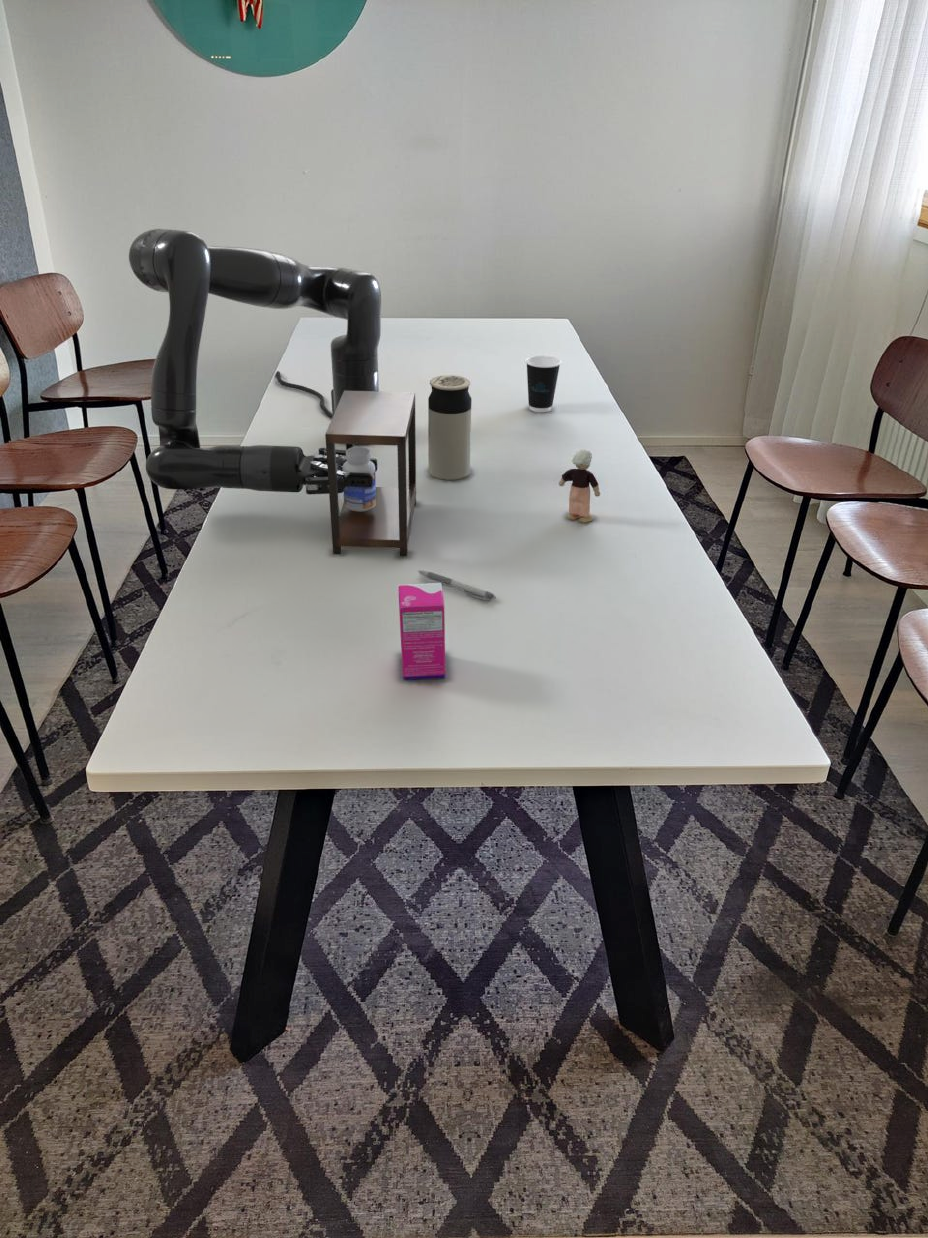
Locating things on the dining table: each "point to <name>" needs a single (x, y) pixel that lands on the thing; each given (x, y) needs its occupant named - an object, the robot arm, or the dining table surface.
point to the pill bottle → (359, 495)
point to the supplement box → (422, 631)
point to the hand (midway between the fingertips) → (374, 472)
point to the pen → (459, 585)
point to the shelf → (391, 518)
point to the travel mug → (449, 427)
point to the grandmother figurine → (580, 486)
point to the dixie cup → (542, 381)
